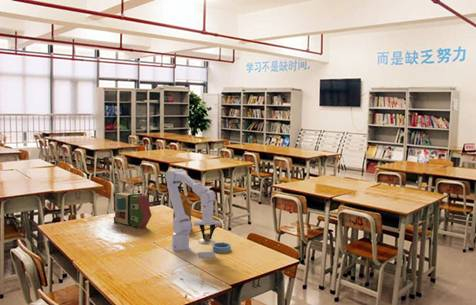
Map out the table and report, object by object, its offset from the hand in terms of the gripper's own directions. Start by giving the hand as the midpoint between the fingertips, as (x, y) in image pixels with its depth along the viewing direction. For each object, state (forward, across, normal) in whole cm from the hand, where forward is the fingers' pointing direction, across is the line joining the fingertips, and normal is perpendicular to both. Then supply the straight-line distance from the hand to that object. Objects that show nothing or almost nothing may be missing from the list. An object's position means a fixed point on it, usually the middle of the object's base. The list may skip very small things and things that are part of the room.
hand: (207, 238), depth 230 cm
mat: (+9, 0, 0) cm, 9 cm away
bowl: (+9, +9, +8) cm, 15 cm away
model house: (+10, -43, +62) cm, 76 cm away
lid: (+2, 0, 0) cm, 2 cm away
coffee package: (+10, -10, +56) cm, 58 cm away
